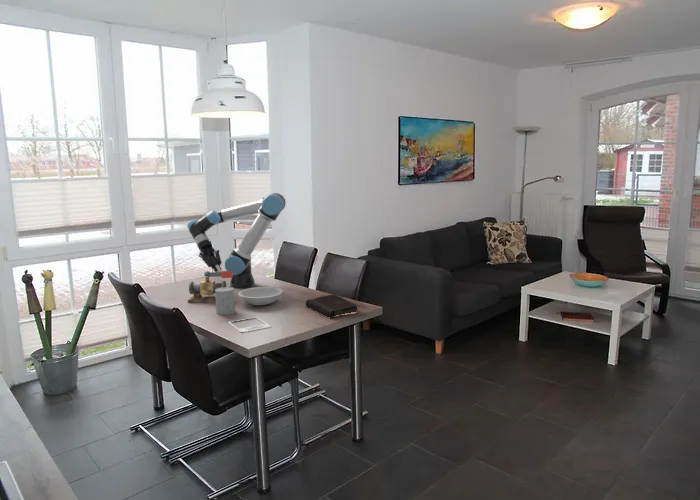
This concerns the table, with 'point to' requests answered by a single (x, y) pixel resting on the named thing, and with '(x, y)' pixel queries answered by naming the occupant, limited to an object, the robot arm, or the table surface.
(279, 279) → the table surface
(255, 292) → the sink basin
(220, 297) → the speckled concrete cylinder
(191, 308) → the table surface
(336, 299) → the diary
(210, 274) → the lever
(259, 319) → the photo frame
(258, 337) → the table surface
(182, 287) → the table surface
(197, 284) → the valve stand
